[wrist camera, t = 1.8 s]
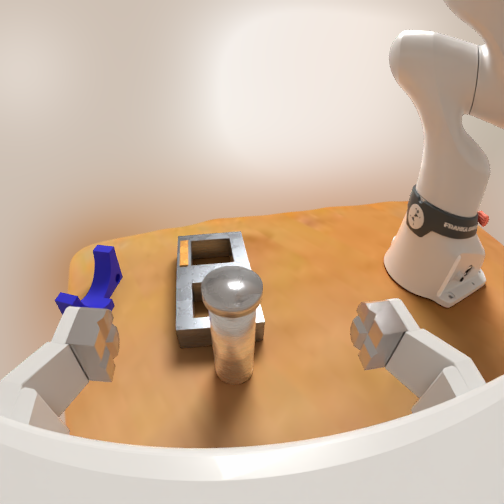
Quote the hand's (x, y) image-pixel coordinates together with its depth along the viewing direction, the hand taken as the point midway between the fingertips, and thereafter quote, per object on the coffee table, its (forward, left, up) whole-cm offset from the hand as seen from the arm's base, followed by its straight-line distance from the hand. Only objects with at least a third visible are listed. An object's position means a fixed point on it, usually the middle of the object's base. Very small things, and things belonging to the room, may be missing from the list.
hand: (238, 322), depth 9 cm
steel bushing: (-1, -12, -22) cm, 25 cm away
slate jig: (0, -25, -22) cm, 33 cm away
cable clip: (+17, -24, -23) cm, 37 cm away
